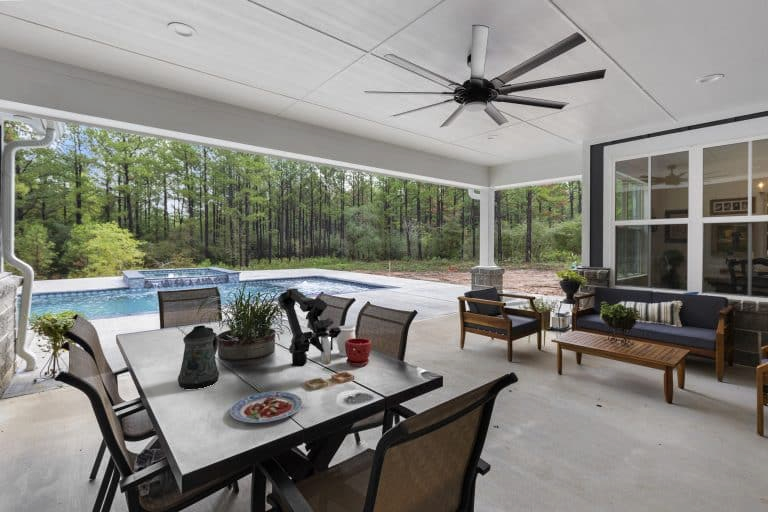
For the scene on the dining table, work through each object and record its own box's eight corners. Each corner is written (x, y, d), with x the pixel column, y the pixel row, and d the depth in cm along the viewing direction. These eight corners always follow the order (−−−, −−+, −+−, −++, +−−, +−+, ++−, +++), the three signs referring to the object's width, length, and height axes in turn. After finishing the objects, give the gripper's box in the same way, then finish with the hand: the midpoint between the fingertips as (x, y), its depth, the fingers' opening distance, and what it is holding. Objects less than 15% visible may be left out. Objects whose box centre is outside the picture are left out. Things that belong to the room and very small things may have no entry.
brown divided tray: (310, 392, 156) (310, 387, 156) (302, 386, 163) (302, 381, 163) (356, 381, 169) (356, 376, 169) (346, 375, 176) (346, 371, 176)
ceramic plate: (276, 391, 159) (276, 384, 158) (316, 408, 142) (316, 401, 142) (216, 413, 139) (216, 405, 139) (255, 436, 122) (255, 427, 122)
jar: (354, 357, 203) (354, 329, 203) (335, 357, 204) (335, 329, 203) (356, 351, 214) (356, 325, 213) (338, 351, 214) (338, 325, 213)
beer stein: (173, 392, 157) (171, 332, 156) (184, 376, 176) (183, 322, 175) (216, 388, 161) (215, 330, 160) (222, 372, 180) (221, 320, 179)
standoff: (321, 365, 169) (321, 338, 168) (321, 361, 173) (321, 336, 172) (330, 364, 169) (331, 338, 169) (330, 361, 174) (330, 335, 173)
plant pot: (367, 368, 185) (367, 344, 185) (342, 367, 188) (341, 343, 187) (373, 360, 198) (373, 337, 198) (349, 358, 201) (349, 336, 200)
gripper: (303, 314, 167) (315, 345, 159) (339, 309, 179) (351, 338, 171) (295, 328, 174) (306, 358, 166) (330, 323, 185) (342, 350, 177)
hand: (327, 351), depth 170 cm, fingers closed on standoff, 4 cm apart
